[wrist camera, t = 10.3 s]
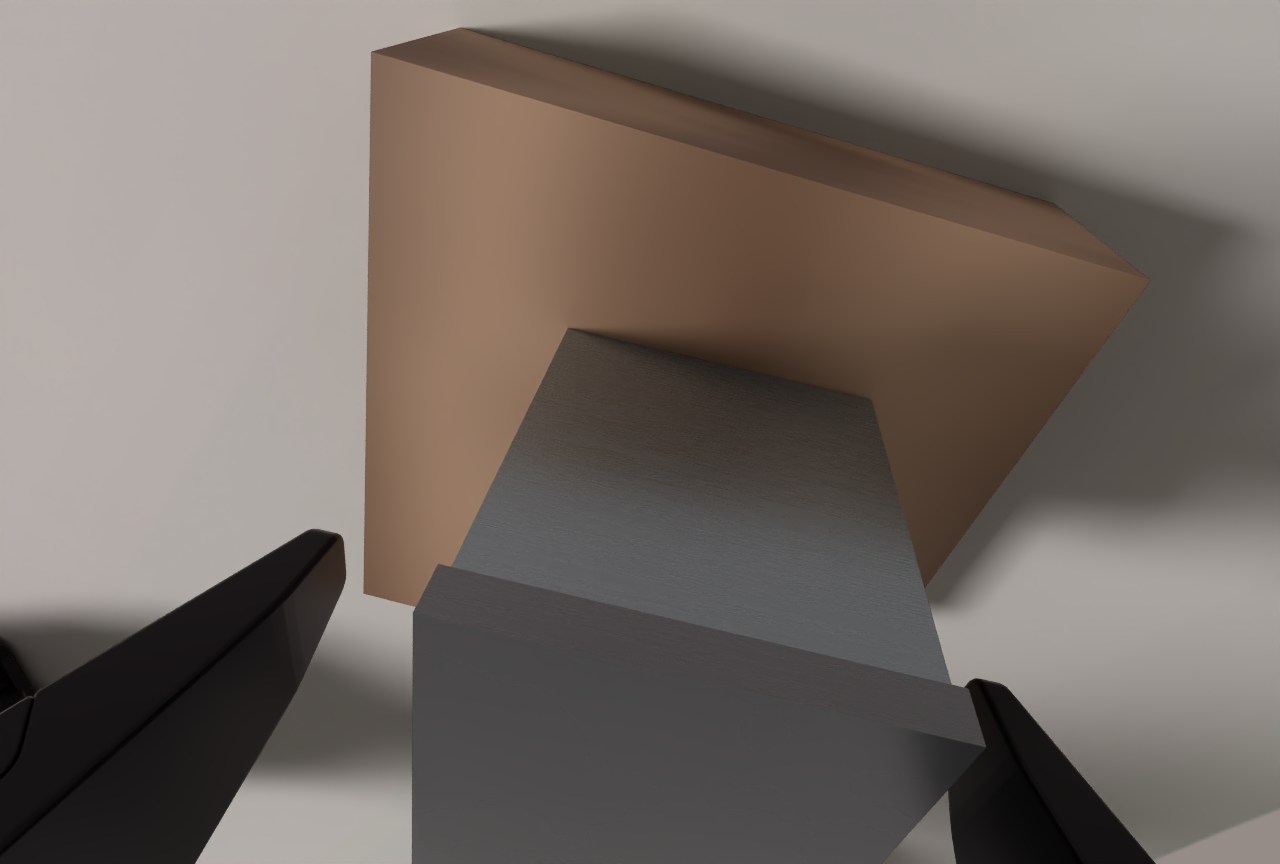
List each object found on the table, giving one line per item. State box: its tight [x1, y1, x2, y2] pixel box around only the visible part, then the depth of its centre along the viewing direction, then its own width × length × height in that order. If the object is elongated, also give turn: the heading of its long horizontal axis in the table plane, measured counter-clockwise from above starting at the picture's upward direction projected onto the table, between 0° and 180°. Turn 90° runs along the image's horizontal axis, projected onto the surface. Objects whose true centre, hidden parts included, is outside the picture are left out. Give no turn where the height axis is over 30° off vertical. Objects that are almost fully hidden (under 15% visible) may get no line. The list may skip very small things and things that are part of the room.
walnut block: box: [364, 28, 1150, 607], centre depth 14 cm, size 11×11×4 cm
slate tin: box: [412, 328, 986, 864], centre depth 10 cm, size 5×5×6 cm
